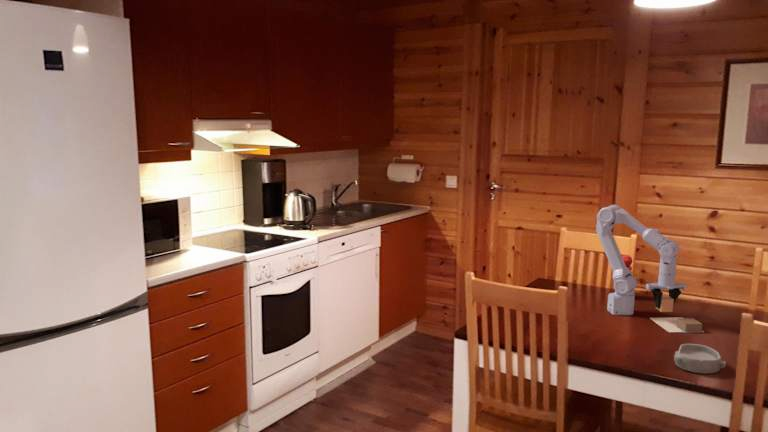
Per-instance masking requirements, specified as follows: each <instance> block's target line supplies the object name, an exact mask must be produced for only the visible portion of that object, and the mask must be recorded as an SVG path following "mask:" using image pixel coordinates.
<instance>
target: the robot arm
mask: <svg viewBox="0 0 768 432" xmlns="http://www.w3.org/2000/svg"><path fill="white" fill-rule="evenodd" d="M596 218H597V219H596V225H595V226H596V229H595V231H596V234H597V236H598V239H599V241H600V243H601V246H602V248H603V251H604V253H605V255H606V258H607V261H608V263H609V265H610V267H611V271H612V280H613V289H614V292H610V293H608V295H607V304H606V306H607V307H606V311H608V312H609V313H610V314H612V316H631V315H634V309H635V296H636V295H635V294H636V292H635V289H636V288H637V286H638V280H637V278H636V276H634V275H633V272H632V273H631V271H632V270H631V271H630V270H629V269H628V268H627V267H626V265H625V263H624V260H623V258H622V256H623V255H622V253H621V251H620V248H619V246H618V244H617V242H616V239H615V237H614V235H613V232H612V229H613V227H614V226H615V224H624V225H625V226H627V227H629V228H630V229H632V230H633V231H635V232H636V233H638V234H640V235H641V237H642V240H643V241H644V242H645V243H646V244H648V245H649V246H650V247H651V248H654V249H655V250H656V251H658V254H659V256H660V259H659V267H658V268H659V269H658V279H657V282H653V283H652V282H651V283H646V284H645V289H646V290H648V291H650V292H651V294H652V296H653V299H654V305H655V308H656V307H657V308H660V305H661V298H662V296H664V295H663V294H664V292H662V290H668V296H670V297H671V298H673V299H674V303H673V307H675V303H676V301H677V299H678V298H679V297H680V295H681V294H682V291H681V290H683V291H684V290H687V284H686V283H683V282H682V283H680V282H679V283H678V282H676V276H677V275H676V274H677V260H678V255H677V254H679V252H680V249H681V248H680V245H679V243H678V242H676V240H673V239H672V240H671V238H669V237H666V236H664V235H663V234H661V233H660V230H659V229H657V228H648V227H647V226H645V225H644V224H643V223H641V222H640V221H639V220H638V219H636V217H634V216H632V215H631V214H630V213H629V212H628V211H627V210H625V209H624V208H621V206H619V205H618V204H610V205H609V206H605V207H602V208H601V209H599V211H598V213H597V214H596Z"/></svg>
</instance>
